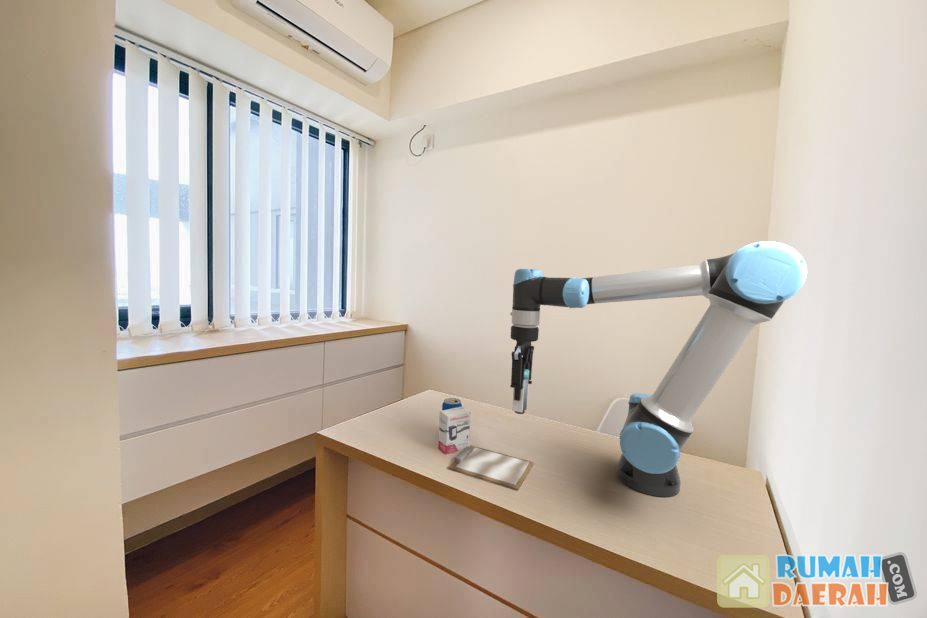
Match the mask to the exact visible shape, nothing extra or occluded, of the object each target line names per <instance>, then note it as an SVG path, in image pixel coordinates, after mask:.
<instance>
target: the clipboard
mask: <svg viewBox="0 0 927 618" xmlns="http://www.w3.org/2000/svg"><path fill="white" fill-rule="evenodd" d="M534 465H535V463H534V461H530V460H526V459H523V458H520V457H516V456H512V455H509V454H505V453H501V452H497V451H493V450H490V449H485V448H483V447H480V446H479V447H478V446H476V445H475V446H474V445H471V444H470V445H469V447H468V446H466V447H465V448H464V449H463V450H460V452H459V453H457V454H456V455H455V456H454V459H453V462H452V463H450V464H449V465H448V466H447V470H451V471H453V472H456V473H460V474H463V475H465V476H469V477H472V478H476V479H479V480H482V481H484V482H489V483H493V484H496V485H498V486H502V487H504V488H509V489H511V490H514V491H517V492H518V491H519V490H520V488H521V486H522V484H523V483H524V481H525V480H526V478H527V476H528V474H529V473H530V471H531V470H532V467H533V466H534Z"/></svg>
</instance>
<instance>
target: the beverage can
mask: <svg viewBox="0 0 927 618" xmlns="http://www.w3.org/2000/svg"><path fill="white" fill-rule="evenodd" d="M457 407H463V405H462V402H461V399H459V398H456V397H449V398H444V400H443V402H442V404H441V411H442V410H447V409H452V408H457Z"/></svg>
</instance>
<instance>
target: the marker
mask: <svg viewBox="0 0 927 618" xmlns="http://www.w3.org/2000/svg"><path fill="white" fill-rule="evenodd" d="M528 379H529V370H528V369H525V373H524V381H523V388H524V397H523V412H522V413H521V412H517V411H513V412H514V413H515V414H518V415H524V414H525V412H526V410H527V408H528V402H527V395H528V396H529V386H528Z"/></svg>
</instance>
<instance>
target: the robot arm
mask: <svg viewBox="0 0 927 618" xmlns="http://www.w3.org/2000/svg"><path fill="white" fill-rule="evenodd" d="M807 275H808V268H807V263H806V261H805V259H804V257H803V255H802V254H801V253H799V252H798V251H797V250H796V249H795V248H793V247H791V246H790V245H787V244H786V243H782V242H778V241H777V242H776V241H758V242H757V241H756V242H753V243H752V242H751V243H749V244H746V245H745V246H742V247H740V248H739V249H738V250H736V251H735V252H733V253H731V254H728V255H723V256H721V257H716V258H708V259H704V260H703V261H702V262H701V263H700V264H694V265H693V264H691V265H685V266H677V267H676V266H675V267H668V268H659V269H652V270H643V271H636V272H635V271H634V272H627V273H617V274H609V275H607V274H606V275H602V276H593V277H583V278H578V277H547V276H544V275H543V271H542V270H541V269H535V268H534V269H533V268H518V269H516V270H515V272H514V277H513V278H514V279H513V284H512V289H513V290H512V307H511V308H512V311H511V312H510V316H511V324H512V325H511V326H510V339H511V340H513V341H516V344H515V346H514V351H511V376H510V377H511V379H510V387H509V388H511V389H513V391H512V393H513V395H512V411H513V412H514V411H517V412H521V413H522V412H523V397H524V388H523V381H524V373H525V369H528V370H529V379H528V387H529V386H530V385H532V384H533V383H532V382H533V381H532V372H533V371H532V370H533V358H534V350H535V346H534V345H532V343H533V342H537V341H538V340H539V333H540V328H539V327H538V326H539V325H540V318H541V317H540V316H541V306H550V307H551V306H552V307H559V308H560V307H562V308H569V309H577V308H578V309H583V308H585V307H586V306H587V305H595V304H596V305H597V304H605V303H608V304H609V303H620V302H632V301H644V300H645V301H646V300H657V299H661V300H662V299H671V298H672V299H673V298H683V297H685V298H686V297H697V296H703V297H704V298H706V299H708V300H709V307H707V309H706V311H705V313H704V314H703V316H702V317H701V318H700V321H699V322H698V323H697V325H696V327H695V328H694V330H693V331H692V333H691V334H690V336H689V337H688V339H687V340H686V342H685V344H684V345H683V347H682V348H681V350H680V352H679V353H678V354H677V356H676V358H675V359H674V361H673V363H672V364H671V365H670V368H669V369H668V370H667V372H666V374H665V375H664V376H663V378H662V379H661V382H660V383H659V384H658V386H657V388H656V389H655V391H654V392H653V394H649V393H648V394H647V393H633V394H631V395H630V396H629V400H628V411H627V412H628V413H627V417H626V420H625V421H624V425H623V426H622V427H623V428H622V429H621V431H620V434H619V445H620V450H621V452H622V454H621V456H620V458H619V459H618V462H617V465H616V475H617V478H618V479H619V480H620V482H622V483H623V484H624V485H626V486H628V487H629V488H630V489H631V488H632V489H633V490H635V491H637V492H640V493H643V494H645V495H650V496H654V497H662V498H663V497H664V498H666V497H667V498H669V497H674V496H677V495H678V494H679V493H680V492H681V491H680V490H681V478H680V474H679V471H678V466H677V464H678V462H679V461H680V460H679V459H680V458H681V457H680V455H681V449H683V447H684V445H685V443H687V440H688V439H689V438H690V436H691V435H692V433H693V432H694V429H695V428H694V426H693V423H692V418H694V415H695V414H696V413H697V412H698V410H699V408H700V407H701V405H702V404H703V403H704V401H705V399H706V398H707V397H708V395H709V394H710V392H711V391H712V390H713V388H714V387H715V385H716V384H717V383H718V381H719V379H720V378H721V376H722V375H723V373H724V372H725V371H726V369H727V368H728V366H729V365H730V363H731V362H732V361H733V359H734V358H735V356H736V355H737V353H738V352H739V350H740V349H741V347H742V346H743V345H744V343H745V341H746V340H747V338H749V336H750V335H751V333H752V331H753V330H754V329H755V327H756V326H757V325H759V324H762V323H766V322H771V320H772V319H773V318H774V317H775V315H776V314H777V312H778V311H779V309H780V308H781V307H782V305H784V303H785V301H786V300H788V299H790V298H792V297H793V296H794V295H795V294H797V293H798V292H799V291H800V290H801V288H802V287H803V286H804V284H805V282H806V279H807ZM528 401H529V394H528V395H527V403H529V402H528Z"/></svg>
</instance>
